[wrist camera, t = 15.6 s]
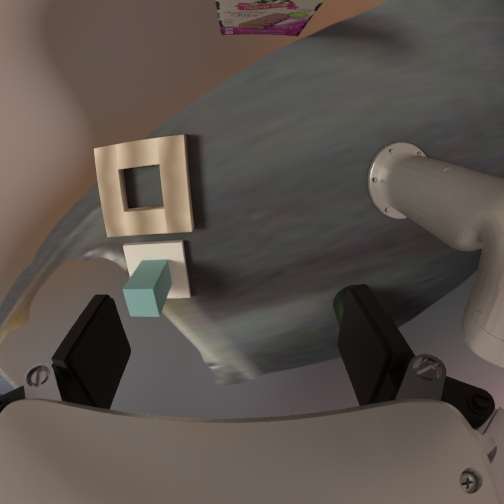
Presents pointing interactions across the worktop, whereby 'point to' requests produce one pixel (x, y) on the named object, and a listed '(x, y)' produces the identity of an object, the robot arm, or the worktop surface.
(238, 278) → the worktop surface
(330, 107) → the worktop surface
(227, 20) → the candy bar box
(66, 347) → the robot arm
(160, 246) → the tile
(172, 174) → the pocket base
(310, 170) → the worktop surface
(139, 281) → the teal block
